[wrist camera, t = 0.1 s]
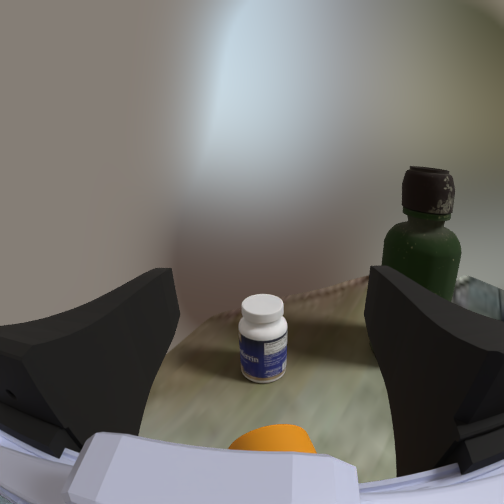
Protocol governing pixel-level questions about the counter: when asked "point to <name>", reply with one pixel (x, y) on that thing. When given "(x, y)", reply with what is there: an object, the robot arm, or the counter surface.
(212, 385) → the counter surface
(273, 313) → the pill bottle
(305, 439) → the bracket
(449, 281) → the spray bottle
